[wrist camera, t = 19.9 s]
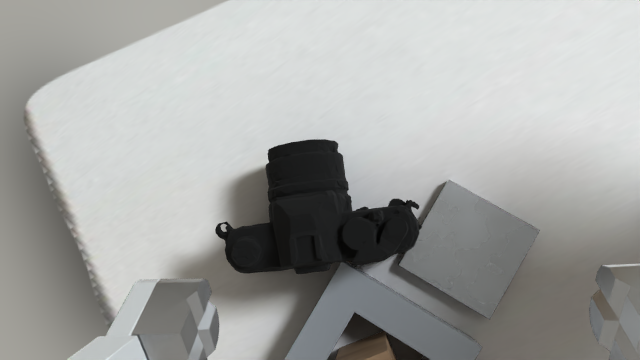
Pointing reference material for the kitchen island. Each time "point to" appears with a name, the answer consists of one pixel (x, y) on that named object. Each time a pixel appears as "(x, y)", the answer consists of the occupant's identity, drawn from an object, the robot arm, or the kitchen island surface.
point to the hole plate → (377, 320)
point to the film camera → (316, 217)
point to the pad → (469, 248)
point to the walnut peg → (368, 349)
